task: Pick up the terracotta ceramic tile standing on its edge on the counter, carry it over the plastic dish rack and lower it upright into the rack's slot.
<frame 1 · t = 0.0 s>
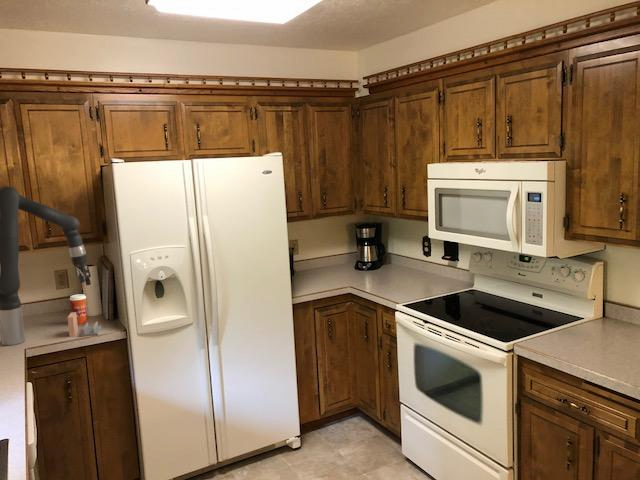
hand: (85, 283, 278), 22 cm above the counter, tool pointing down, fingers open, 8 cm apart
rack: (91, 331, 270), on the counter
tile: (73, 333, 268), on the counter
coffee cup: (80, 323, 286), on the counter
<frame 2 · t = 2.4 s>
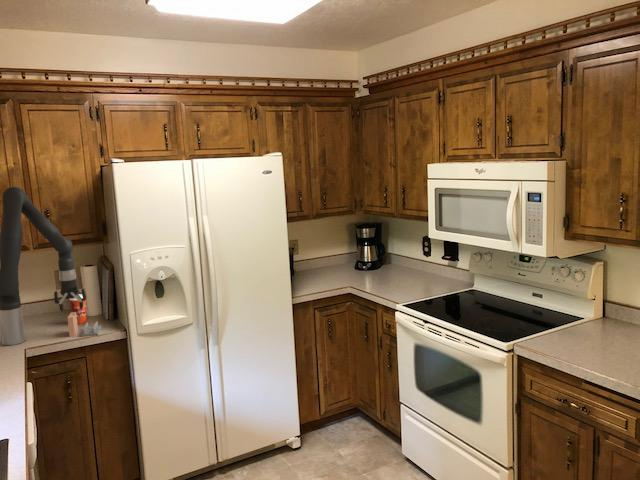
hand: (72, 309, 266), 12 cm above the counter, tool pointing down, fingers open, 8 cm apart
nothing on the counter moved.
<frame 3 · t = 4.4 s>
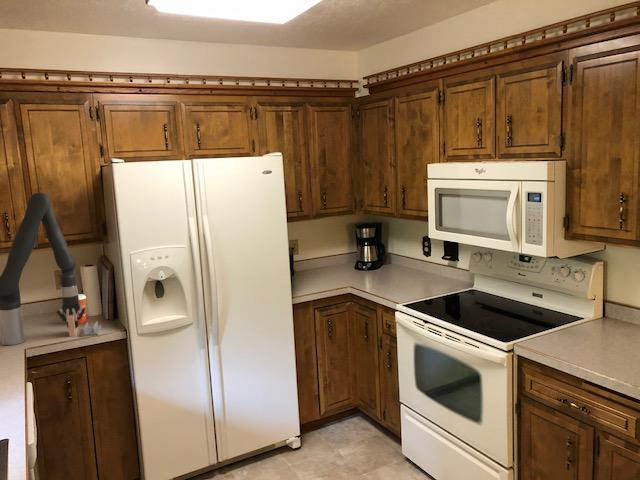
hand: (73, 327, 267), 3 cm above the counter, tool pointing down, fingers closed on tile, 2 cm apart
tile: (73, 333, 268), on the counter, touching gripper
everything else where it was.
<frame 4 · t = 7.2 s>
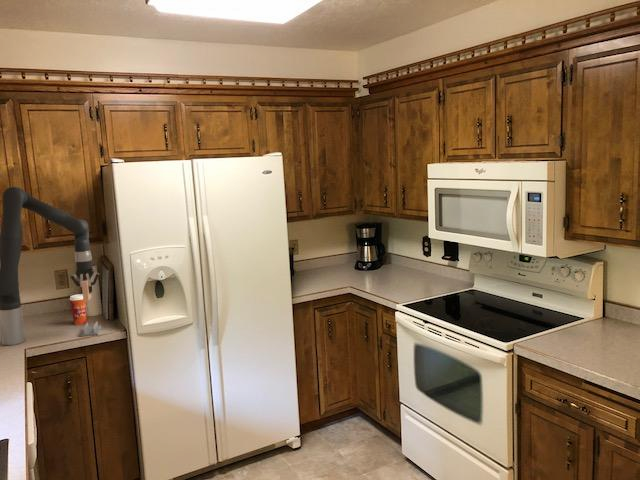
hand: (87, 293, 267), 20 cm above the counter, tool pointing down, fingers closed on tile, 2 cm apart
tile: (87, 299, 267), point 17 cm above the counter, touching gripper
everything else where it was.
when the fingers open (6 cm above the counter, at t = 10.1 s): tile drops 1 cm, resting on rack.
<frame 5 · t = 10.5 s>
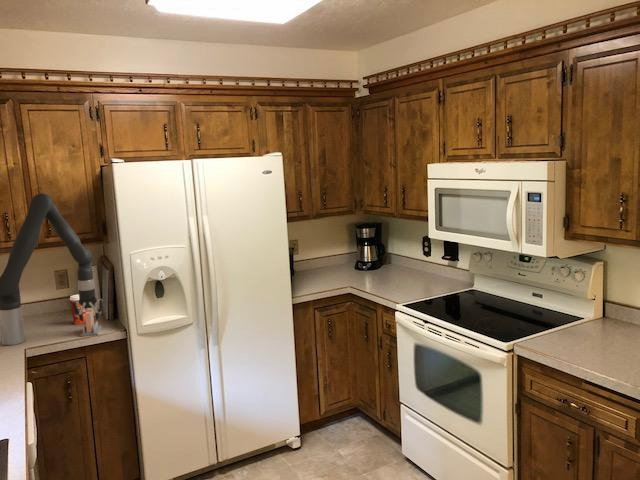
hand: (89, 320, 269), 6 cm above the counter, tool pointing down, fingers open, 6 cm apart
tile: (90, 330, 270), point 1 cm above the counter, touching rack
everything else where it was.
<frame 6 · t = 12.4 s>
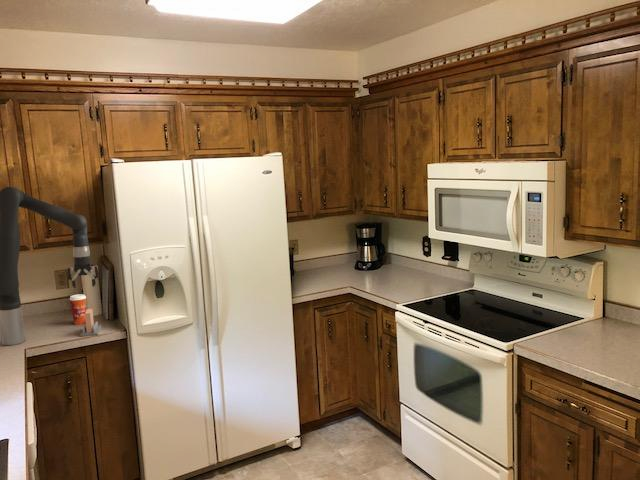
hand: (84, 286, 267), 23 cm above the counter, tool pointing down, fingers open, 8 cm apart
nothing on the counter moved.
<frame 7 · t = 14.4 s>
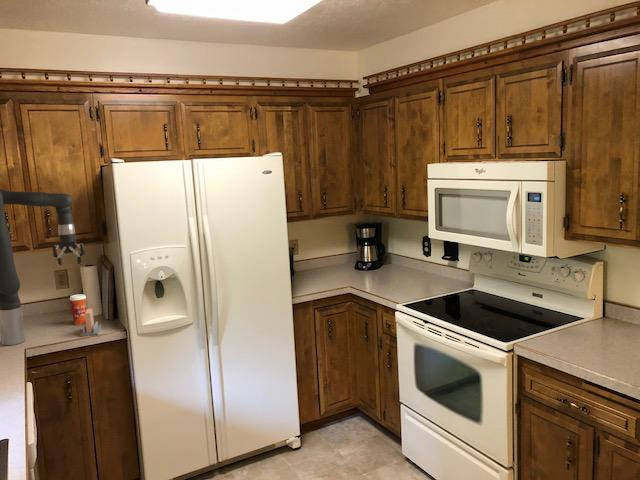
hand: (70, 264, 270), 34 cm above the counter, tool pointing down, fingers open, 8 cm apart
nothing on the counter moved.
at the end: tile 0.1 cm off-centre on the rack, point 1.0 cm above the rack's base; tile tilted 0°; the gripper is holding nothing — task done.
